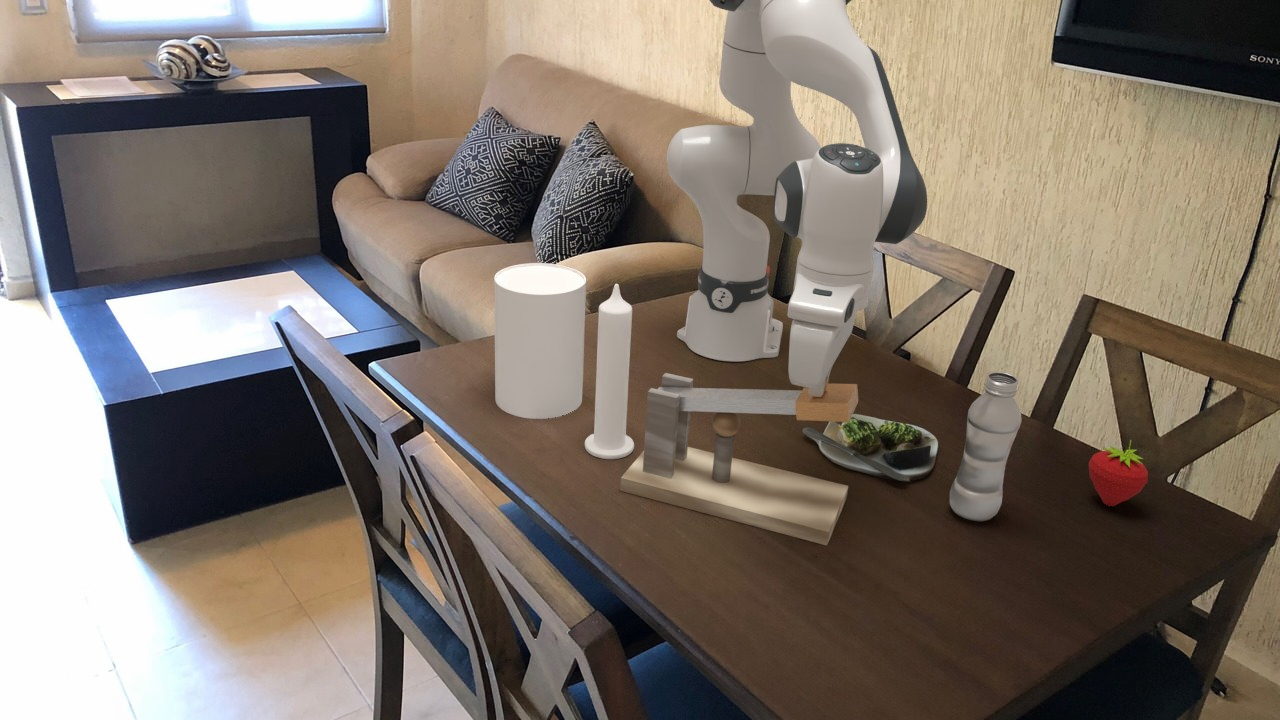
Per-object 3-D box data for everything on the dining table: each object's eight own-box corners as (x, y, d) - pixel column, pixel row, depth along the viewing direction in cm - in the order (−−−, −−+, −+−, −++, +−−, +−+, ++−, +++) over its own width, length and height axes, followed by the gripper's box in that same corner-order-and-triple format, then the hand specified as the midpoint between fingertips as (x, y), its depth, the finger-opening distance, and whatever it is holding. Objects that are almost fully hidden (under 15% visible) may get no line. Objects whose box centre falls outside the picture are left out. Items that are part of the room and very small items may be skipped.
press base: (653, 450, 144) (659, 362, 138) (846, 498, 135) (861, 406, 129) (620, 490, 134) (625, 397, 128) (826, 545, 125) (842, 447, 119)
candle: (628, 462, 140) (637, 296, 130) (579, 455, 142) (584, 289, 131) (638, 439, 147) (647, 278, 136) (591, 432, 148) (597, 272, 138)
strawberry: (1089, 486, 141) (1106, 423, 137) (1144, 508, 137) (1164, 444, 133) (1072, 501, 137) (1089, 437, 133) (1128, 524, 133) (1148, 459, 129)
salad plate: (787, 464, 143) (790, 435, 141) (817, 412, 158) (820, 386, 157) (924, 498, 137) (930, 468, 135) (942, 441, 152) (947, 414, 150)
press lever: (664, 396, 136) (662, 380, 135) (858, 401, 126) (857, 384, 125) (648, 414, 131) (646, 397, 130) (848, 421, 121) (847, 403, 120)
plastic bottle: (936, 504, 135) (963, 370, 126) (977, 497, 137) (1007, 364, 129) (966, 531, 129) (997, 392, 121) (1008, 523, 132) (1042, 386, 123)
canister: (479, 407, 153) (477, 284, 145) (519, 373, 165) (519, 257, 157) (560, 426, 149) (563, 300, 141) (595, 389, 161) (600, 272, 153)
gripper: (824, 257, 128) (811, 356, 134) (784, 308, 111) (771, 419, 116) (874, 266, 126) (859, 366, 132) (841, 319, 109) (825, 431, 114)
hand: (817, 391), depth 124 cm, fingers closed, pressing on press lever
